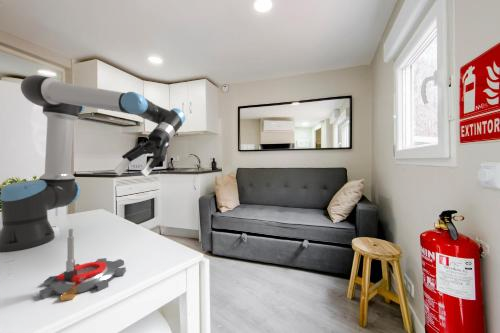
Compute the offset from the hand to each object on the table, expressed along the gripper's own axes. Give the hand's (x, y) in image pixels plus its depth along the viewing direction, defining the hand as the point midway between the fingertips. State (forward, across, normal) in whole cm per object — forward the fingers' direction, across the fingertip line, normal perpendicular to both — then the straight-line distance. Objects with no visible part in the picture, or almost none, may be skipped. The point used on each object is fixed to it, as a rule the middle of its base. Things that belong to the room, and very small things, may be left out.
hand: (129, 173), depth 74 cm
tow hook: (+31, -7, -4) cm, 32 cm away
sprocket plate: (+32, -8, -5) cm, 33 cm away
